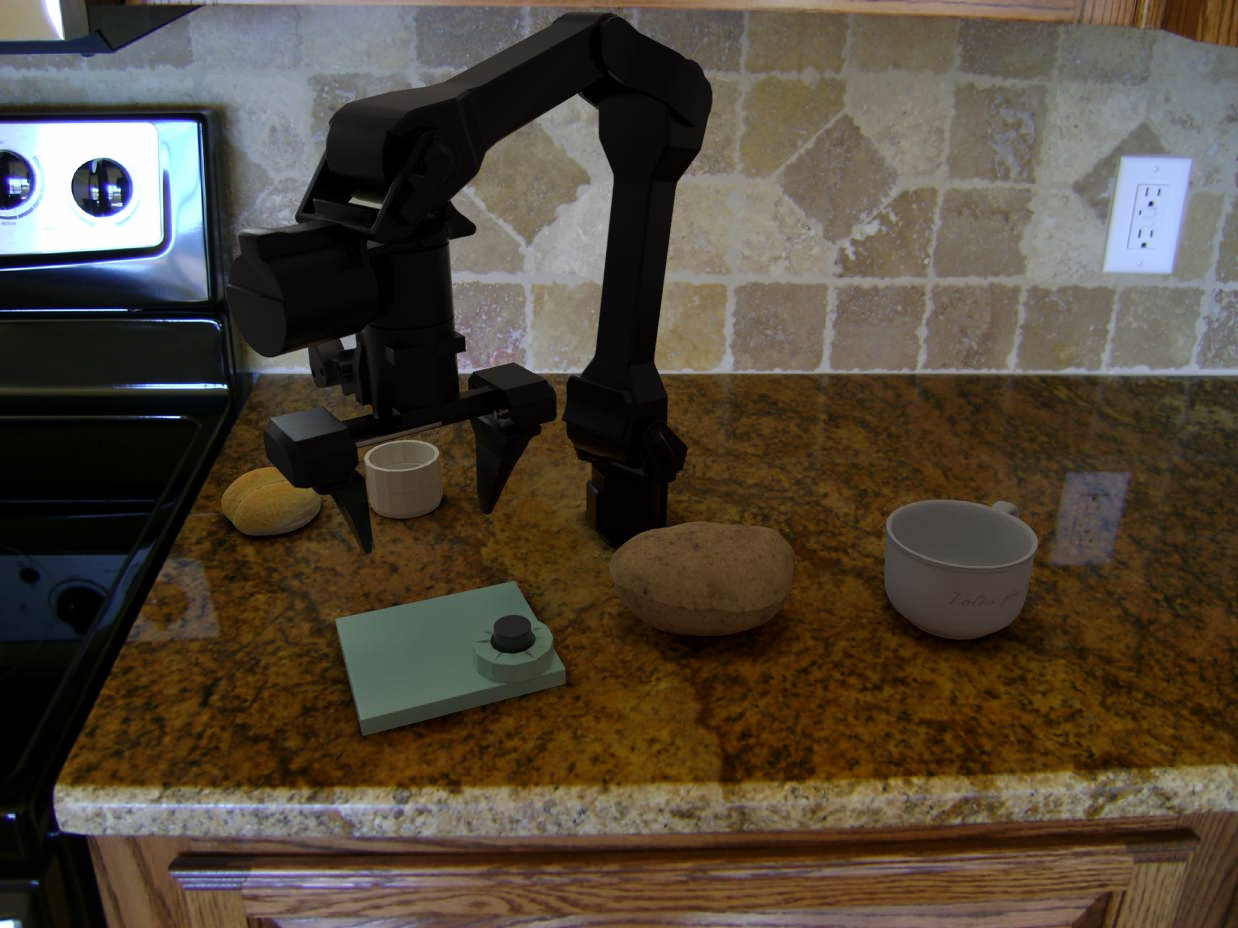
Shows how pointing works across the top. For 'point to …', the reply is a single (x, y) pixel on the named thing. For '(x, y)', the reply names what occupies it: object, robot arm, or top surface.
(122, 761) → the top surface
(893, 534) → the teacup
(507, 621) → the button
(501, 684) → the scale
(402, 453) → the grey cylindrical container
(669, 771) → the top surface
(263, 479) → the bread roll
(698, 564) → the potato
